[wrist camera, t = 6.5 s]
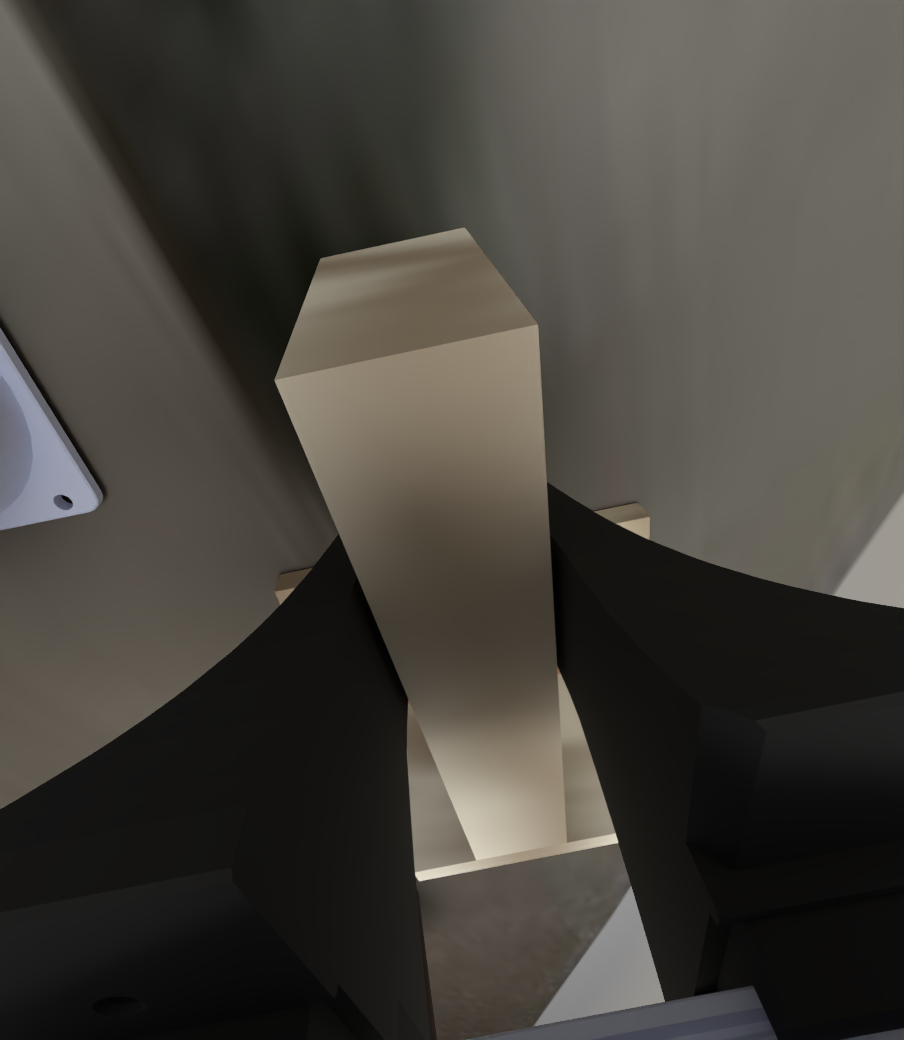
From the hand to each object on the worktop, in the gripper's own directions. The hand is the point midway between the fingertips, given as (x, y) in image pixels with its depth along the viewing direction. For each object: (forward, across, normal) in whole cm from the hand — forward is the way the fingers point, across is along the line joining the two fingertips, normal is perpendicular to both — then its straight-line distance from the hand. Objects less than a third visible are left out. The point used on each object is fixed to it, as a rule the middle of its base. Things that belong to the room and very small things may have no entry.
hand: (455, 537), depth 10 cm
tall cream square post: (+2, 0, +2) cm, 3 cm away
